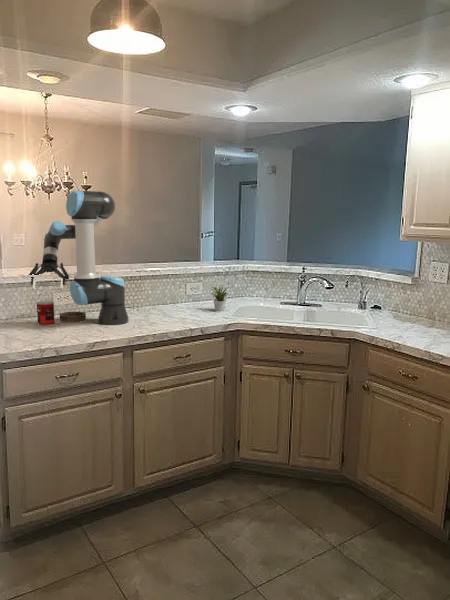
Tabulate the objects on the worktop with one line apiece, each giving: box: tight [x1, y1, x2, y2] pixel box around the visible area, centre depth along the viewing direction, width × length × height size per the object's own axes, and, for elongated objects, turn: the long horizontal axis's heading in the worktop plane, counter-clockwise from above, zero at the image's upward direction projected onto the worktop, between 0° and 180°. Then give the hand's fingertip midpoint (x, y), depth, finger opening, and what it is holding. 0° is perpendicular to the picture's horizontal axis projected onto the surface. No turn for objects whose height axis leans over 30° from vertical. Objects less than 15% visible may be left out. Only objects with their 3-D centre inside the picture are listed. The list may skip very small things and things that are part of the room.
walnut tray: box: [59, 311, 87, 324], centre depth 259 cm, size 13×13×3 cm
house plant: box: [209, 284, 230, 312], centre depth 287 cm, size 14×14×16 cm
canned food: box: [36, 300, 55, 326], centre depth 249 cm, size 8×8×11 cm
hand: (47, 289), depth 258 cm, fingers open, 13 cm apart
